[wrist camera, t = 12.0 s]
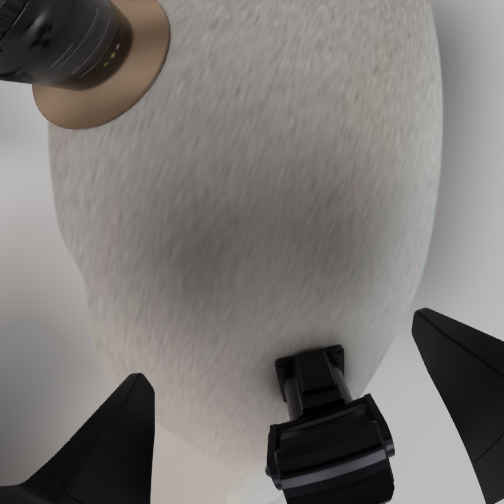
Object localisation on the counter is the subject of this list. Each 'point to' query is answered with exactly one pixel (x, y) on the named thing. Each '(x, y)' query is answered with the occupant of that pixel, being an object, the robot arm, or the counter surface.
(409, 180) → the counter surface
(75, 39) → the supplement bottle
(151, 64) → the walnut trivet
